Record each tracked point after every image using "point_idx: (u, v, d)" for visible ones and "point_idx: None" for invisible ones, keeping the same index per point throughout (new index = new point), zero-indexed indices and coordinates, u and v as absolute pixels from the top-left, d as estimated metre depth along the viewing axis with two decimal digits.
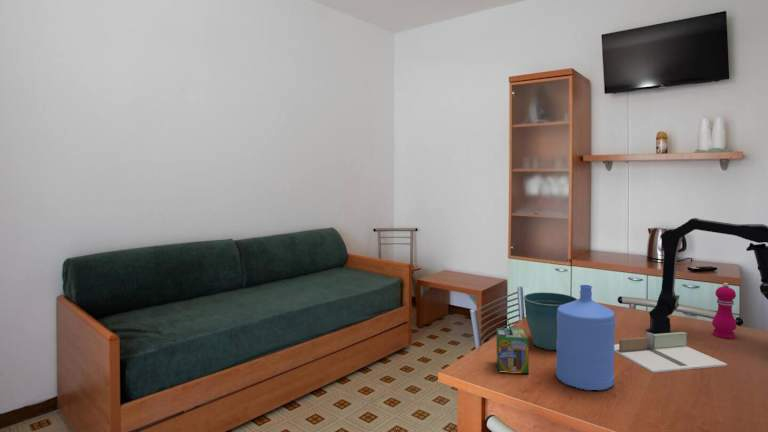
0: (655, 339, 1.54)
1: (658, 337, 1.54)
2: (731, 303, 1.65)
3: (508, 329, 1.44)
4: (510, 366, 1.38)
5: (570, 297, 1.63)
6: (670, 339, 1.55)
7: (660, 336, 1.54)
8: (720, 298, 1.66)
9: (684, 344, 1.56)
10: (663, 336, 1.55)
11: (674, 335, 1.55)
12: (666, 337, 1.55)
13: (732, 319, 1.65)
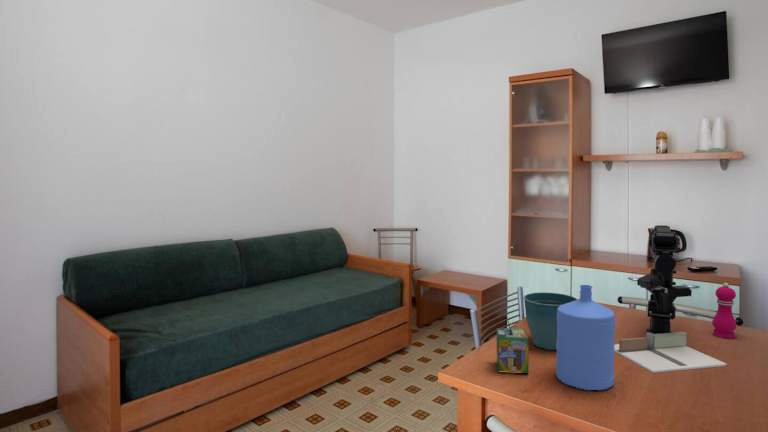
0: (655, 339, 1.54)
1: (658, 337, 1.54)
2: (731, 303, 1.65)
3: (508, 329, 1.44)
4: (510, 366, 1.38)
5: (570, 297, 1.63)
6: (670, 339, 1.55)
7: (660, 336, 1.54)
8: (720, 298, 1.66)
9: (684, 344, 1.56)
10: (663, 336, 1.55)
11: (674, 335, 1.55)
12: (666, 337, 1.55)
13: (732, 319, 1.65)
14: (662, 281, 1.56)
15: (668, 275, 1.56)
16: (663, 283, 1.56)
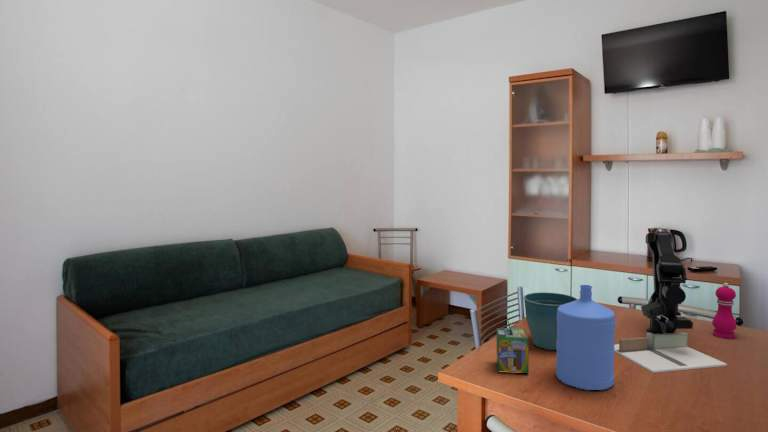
0: (655, 339, 1.54)
1: (658, 337, 1.54)
2: (731, 303, 1.65)
3: (508, 329, 1.44)
4: (510, 366, 1.38)
5: (570, 297, 1.63)
6: (670, 339, 1.55)
7: (660, 336, 1.54)
8: (720, 298, 1.66)
9: (685, 344, 1.56)
10: (663, 336, 1.54)
11: (675, 335, 1.55)
12: (666, 337, 1.55)
13: (732, 319, 1.65)
14: (664, 311, 1.55)
15: (671, 305, 1.55)
16: (665, 313, 1.55)
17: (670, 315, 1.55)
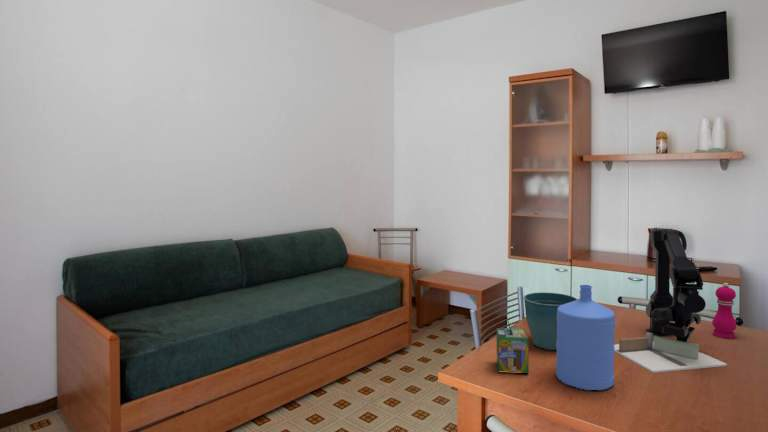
0: (655, 340, 1.53)
1: (658, 339, 1.52)
2: (731, 303, 1.65)
3: (508, 329, 1.44)
4: (510, 366, 1.38)
5: (570, 297, 1.63)
6: (675, 346, 1.49)
7: (661, 339, 1.51)
8: (720, 298, 1.66)
9: (695, 357, 1.45)
10: (665, 340, 1.51)
11: (680, 343, 1.48)
12: (669, 342, 1.50)
13: (732, 319, 1.65)
14: (669, 316, 1.50)
15: (678, 312, 1.48)
16: (670, 318, 1.49)
17: (676, 321, 1.48)
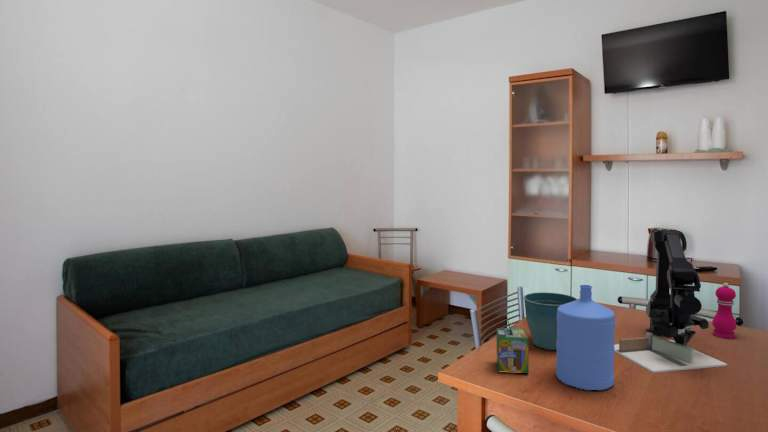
0: (653, 341, 1.53)
1: (656, 340, 1.52)
2: (731, 303, 1.65)
3: (508, 329, 1.44)
4: (510, 366, 1.38)
5: (570, 297, 1.63)
6: (670, 348, 1.47)
7: (658, 340, 1.51)
8: (720, 298, 1.66)
9: (688, 360, 1.43)
10: (661, 341, 1.50)
11: (674, 345, 1.46)
12: (665, 343, 1.49)
13: (732, 319, 1.65)
14: (666, 317, 1.48)
15: (673, 313, 1.46)
16: (667, 319, 1.48)
17: (672, 323, 1.47)
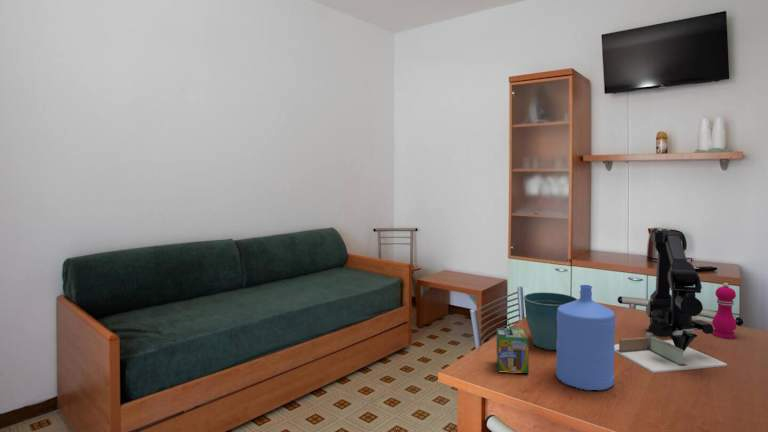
0: (651, 341, 1.53)
1: (653, 340, 1.52)
2: (731, 303, 1.65)
3: (508, 329, 1.44)
4: (510, 366, 1.38)
5: (570, 297, 1.63)
6: (664, 348, 1.47)
7: (655, 340, 1.51)
8: (720, 298, 1.66)
9: (677, 362, 1.42)
10: (657, 341, 1.50)
11: (667, 346, 1.45)
12: (660, 344, 1.49)
13: (732, 319, 1.65)
14: (666, 318, 1.48)
15: (672, 314, 1.46)
16: (667, 320, 1.48)
17: (671, 324, 1.46)
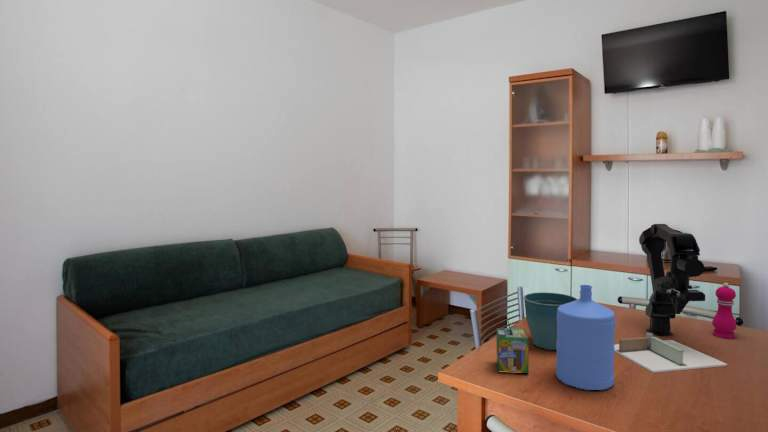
0: (651, 341, 1.53)
1: (653, 340, 1.52)
2: (731, 303, 1.65)
3: (508, 329, 1.44)
4: (510, 366, 1.38)
5: (570, 297, 1.63)
6: (664, 348, 1.47)
7: (655, 340, 1.51)
8: (720, 298, 1.66)
9: (677, 362, 1.42)
10: (657, 341, 1.50)
11: (667, 346, 1.45)
12: (660, 344, 1.49)
13: (732, 319, 1.65)
14: (676, 284, 1.53)
15: (683, 278, 1.53)
16: (677, 286, 1.53)
17: (681, 288, 1.54)
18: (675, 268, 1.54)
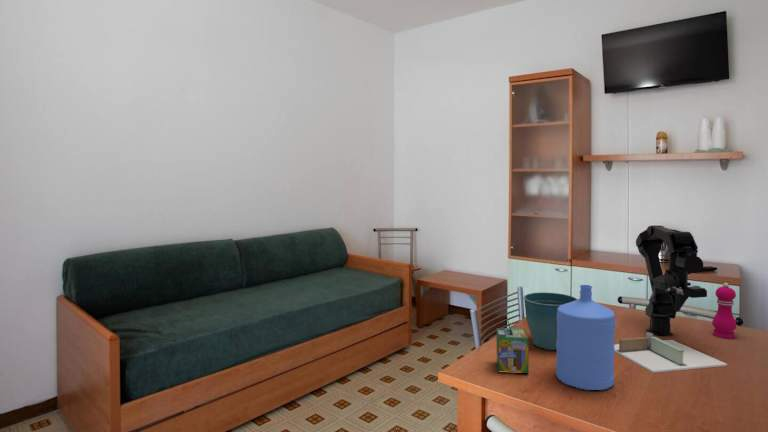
0: (651, 341, 1.53)
1: (653, 340, 1.52)
2: (731, 303, 1.65)
3: (508, 329, 1.44)
4: (510, 366, 1.38)
5: (570, 297, 1.63)
6: (664, 348, 1.47)
7: (655, 340, 1.51)
8: (720, 298, 1.66)
9: (677, 362, 1.42)
10: (657, 341, 1.50)
11: (667, 346, 1.45)
12: (660, 344, 1.49)
13: (732, 319, 1.65)
14: (677, 282, 1.55)
15: (683, 276, 1.55)
16: (678, 284, 1.55)
17: (682, 285, 1.55)
18: (674, 265, 1.56)
